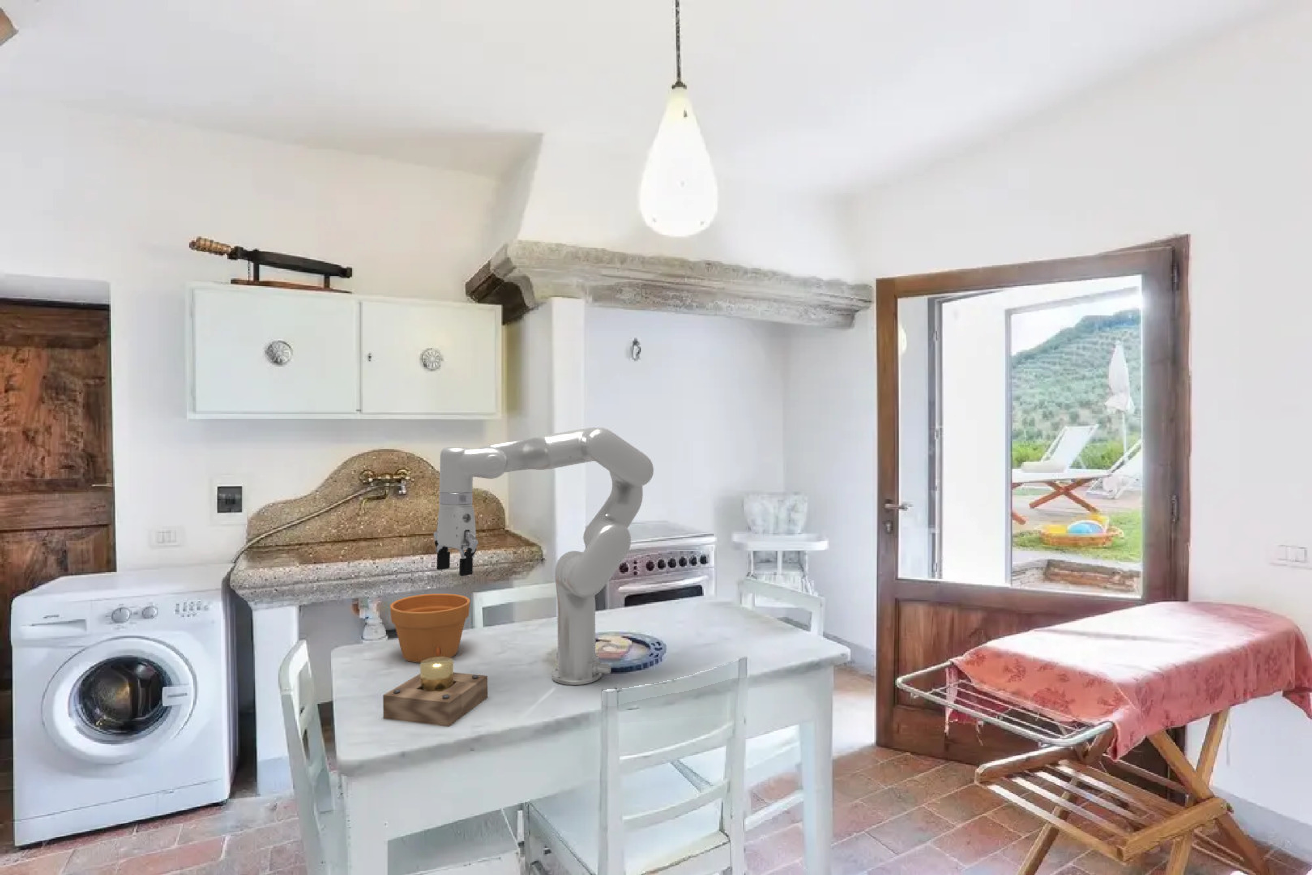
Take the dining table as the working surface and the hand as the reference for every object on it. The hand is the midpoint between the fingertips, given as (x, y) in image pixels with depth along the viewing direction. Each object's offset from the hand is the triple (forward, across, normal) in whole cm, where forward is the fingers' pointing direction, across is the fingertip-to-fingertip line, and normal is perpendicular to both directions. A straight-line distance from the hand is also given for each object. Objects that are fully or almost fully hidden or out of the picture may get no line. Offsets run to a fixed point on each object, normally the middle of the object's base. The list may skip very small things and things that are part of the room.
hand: (454, 571), depth 164 cm
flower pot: (+30, +31, -12) cm, 44 cm away
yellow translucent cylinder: (+28, -6, +7) cm, 30 cm away
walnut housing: (+29, -6, +7) cm, 31 cm away
